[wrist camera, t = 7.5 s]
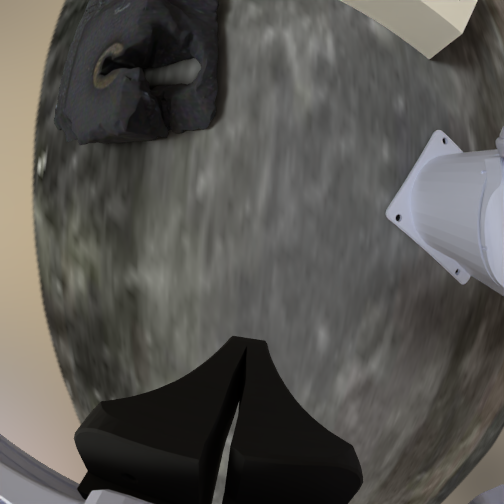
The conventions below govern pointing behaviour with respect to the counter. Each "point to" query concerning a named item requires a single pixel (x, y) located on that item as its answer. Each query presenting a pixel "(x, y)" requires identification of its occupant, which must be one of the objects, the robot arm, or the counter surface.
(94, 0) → the black fabric pouch
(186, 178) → the counter surface
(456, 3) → the button console
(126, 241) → the counter surface
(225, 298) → the counter surface
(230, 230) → the counter surface
